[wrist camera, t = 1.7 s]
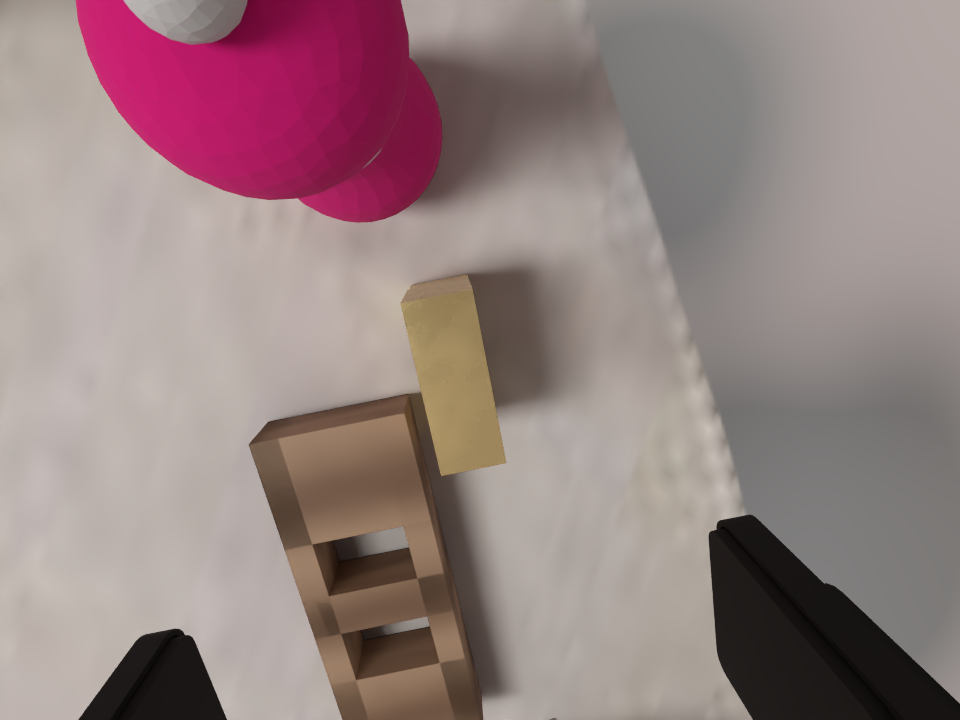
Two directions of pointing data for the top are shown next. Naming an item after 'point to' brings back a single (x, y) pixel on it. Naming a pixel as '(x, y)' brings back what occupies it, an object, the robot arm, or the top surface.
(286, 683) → the top surface
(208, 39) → the pepper mill
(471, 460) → the tan rectangular block
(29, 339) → the top surface
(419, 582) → the rail
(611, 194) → the top surface
